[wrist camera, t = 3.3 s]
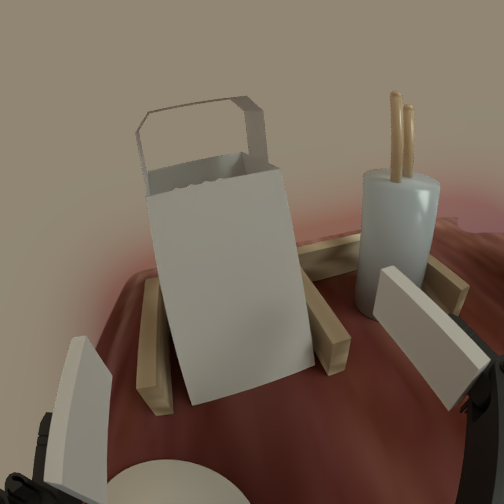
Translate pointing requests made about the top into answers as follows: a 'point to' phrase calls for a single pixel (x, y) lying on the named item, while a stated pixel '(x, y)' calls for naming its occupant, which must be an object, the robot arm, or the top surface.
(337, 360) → the rack
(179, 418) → the top surface
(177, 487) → the plate
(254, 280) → the grater
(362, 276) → the utensil crock
